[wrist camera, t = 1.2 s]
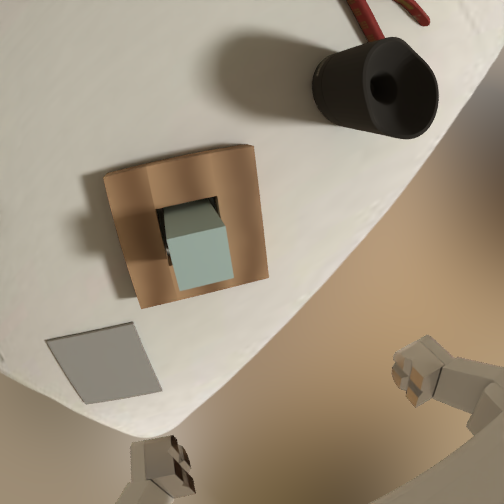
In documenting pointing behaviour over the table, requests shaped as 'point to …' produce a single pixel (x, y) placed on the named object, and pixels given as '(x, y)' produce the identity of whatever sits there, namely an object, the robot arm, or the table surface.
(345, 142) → the table surface
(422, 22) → the pliers
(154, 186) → the plug dock
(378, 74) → the pen holder
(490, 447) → the robot arm
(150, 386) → the rubber mat
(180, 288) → the square plug
